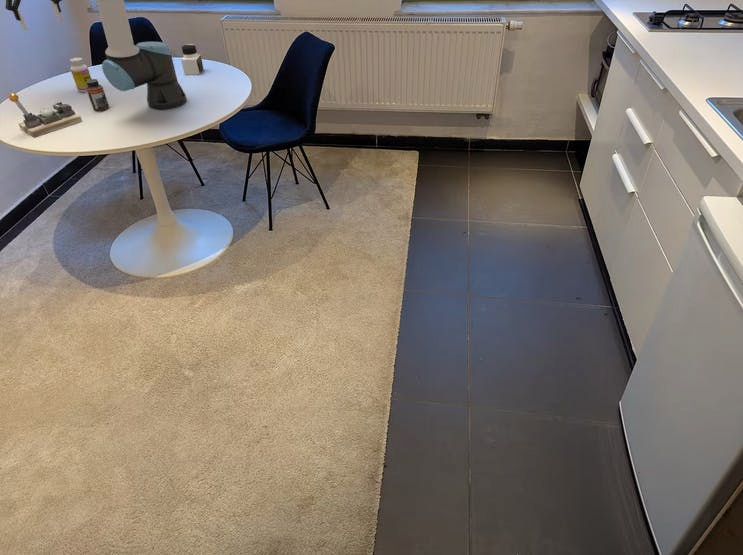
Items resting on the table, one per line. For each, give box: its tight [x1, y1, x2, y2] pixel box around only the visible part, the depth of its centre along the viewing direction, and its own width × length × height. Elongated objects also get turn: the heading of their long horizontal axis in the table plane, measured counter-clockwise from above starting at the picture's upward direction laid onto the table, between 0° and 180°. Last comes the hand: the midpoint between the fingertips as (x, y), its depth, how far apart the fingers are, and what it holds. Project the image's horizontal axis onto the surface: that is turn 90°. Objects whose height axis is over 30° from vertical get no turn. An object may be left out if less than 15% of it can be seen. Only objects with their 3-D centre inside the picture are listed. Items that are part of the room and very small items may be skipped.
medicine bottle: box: [180, 43, 205, 76], centre depth 244 cm, size 7×7×12 cm
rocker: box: [52, 103, 73, 111], centre depth 205 cm, size 4×5×2 cm
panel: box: [18, 101, 83, 138], centre depth 202 cm, size 12×18×6 cm, turn 140°
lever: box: [8, 92, 30, 117], centre depth 194 cm, size 3×3×11 cm
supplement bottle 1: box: [69, 57, 92, 93], centre depth 230 cm, size 7×7×13 cm
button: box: [39, 108, 54, 118], centre depth 202 cm, size 4×4×2 cm
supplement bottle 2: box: [86, 78, 110, 112], centre depth 212 cm, size 6×6×11 cm
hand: (43, 25), depth 212 cm, fingers open, 13 cm apart
